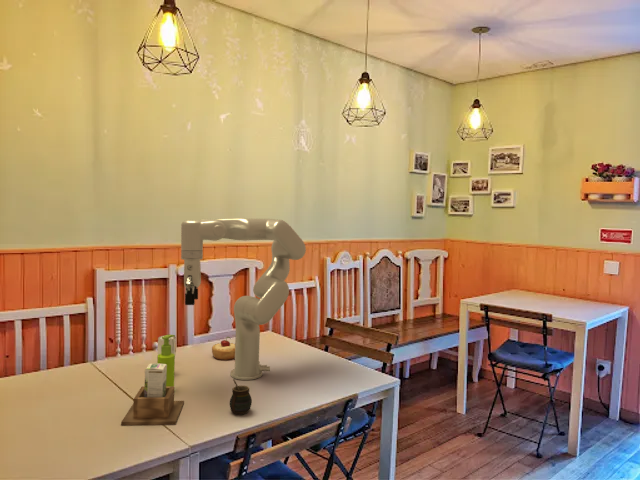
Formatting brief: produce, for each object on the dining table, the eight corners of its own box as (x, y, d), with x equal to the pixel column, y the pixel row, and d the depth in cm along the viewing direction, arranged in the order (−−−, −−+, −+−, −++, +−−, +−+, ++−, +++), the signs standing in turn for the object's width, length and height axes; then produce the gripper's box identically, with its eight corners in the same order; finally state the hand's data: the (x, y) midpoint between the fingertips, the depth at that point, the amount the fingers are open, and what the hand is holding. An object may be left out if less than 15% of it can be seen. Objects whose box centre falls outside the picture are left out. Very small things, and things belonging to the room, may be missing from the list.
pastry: (206, 359, 216) (206, 339, 215) (221, 352, 227) (221, 333, 226) (230, 363, 212) (229, 342, 211) (244, 355, 222) (244, 335, 222)
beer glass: (178, 372, 197) (179, 335, 196) (171, 378, 190) (172, 340, 189) (161, 371, 197) (162, 334, 196) (154, 377, 190) (154, 339, 189)
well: (183, 403, 167) (184, 383, 166) (175, 424, 151) (176, 402, 151) (134, 403, 165) (135, 383, 165) (121, 425, 149) (121, 402, 149)
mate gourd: (241, 418, 157) (242, 387, 157) (223, 412, 161) (224, 382, 161) (256, 410, 163) (256, 381, 163) (238, 405, 167) (239, 376, 167)
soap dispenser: (179, 388, 180) (180, 334, 179) (167, 395, 174) (168, 339, 172) (165, 385, 182) (166, 332, 181) (153, 392, 176) (154, 337, 174)
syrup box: (147, 406, 161) (148, 363, 160) (166, 406, 162) (166, 363, 161) (143, 414, 155) (144, 369, 154) (162, 414, 156) (163, 368, 155)
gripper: (199, 257, 169) (199, 307, 170) (205, 252, 186) (204, 297, 187) (177, 257, 168) (177, 307, 169) (184, 252, 185) (184, 297, 186)
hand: (191, 302), depth 178 cm, fingers open, 9 cm apart
